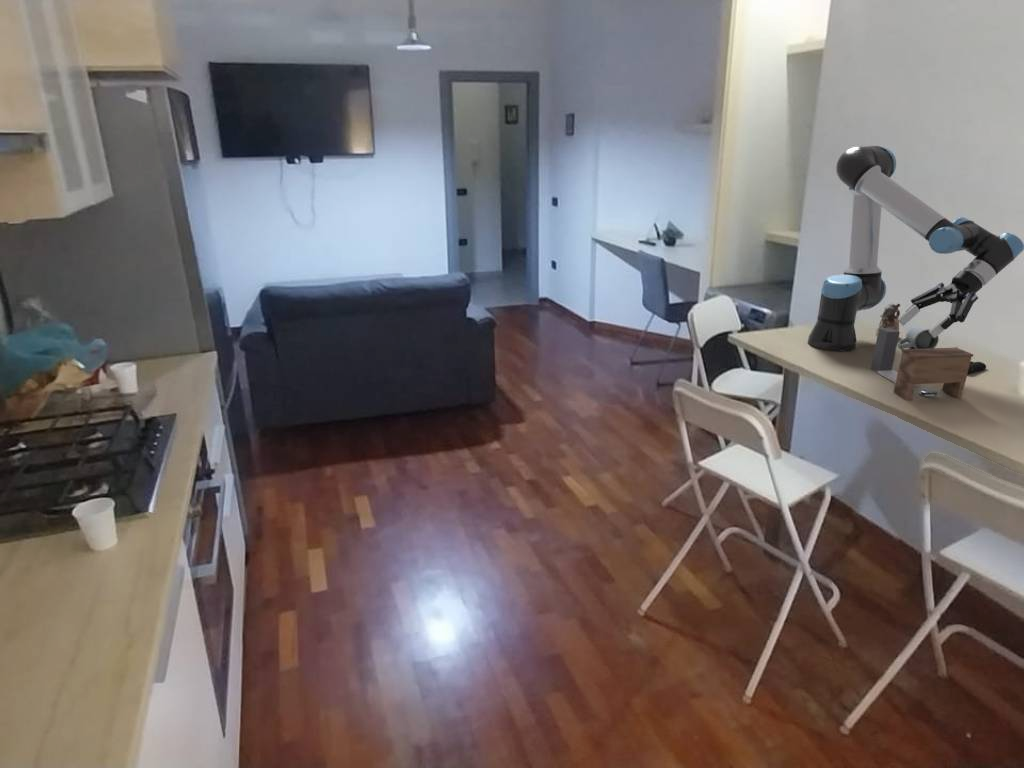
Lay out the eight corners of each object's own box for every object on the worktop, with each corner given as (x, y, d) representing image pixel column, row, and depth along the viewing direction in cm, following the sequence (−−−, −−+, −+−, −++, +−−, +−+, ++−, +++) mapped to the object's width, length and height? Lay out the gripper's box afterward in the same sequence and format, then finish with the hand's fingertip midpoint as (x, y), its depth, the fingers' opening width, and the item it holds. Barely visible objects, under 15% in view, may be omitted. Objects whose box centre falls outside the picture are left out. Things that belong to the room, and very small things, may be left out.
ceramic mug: (924, 345, 233) (929, 323, 231) (936, 352, 226) (941, 330, 223) (892, 344, 234) (896, 323, 232) (903, 351, 227) (907, 329, 224)
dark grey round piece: (914, 393, 191) (915, 389, 190) (929, 392, 191) (930, 388, 191) (924, 398, 187) (925, 394, 186) (939, 398, 187) (940, 394, 187)
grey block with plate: (869, 368, 209) (877, 328, 205) (884, 368, 210) (892, 328, 205) (903, 387, 194) (913, 343, 190) (919, 386, 195) (929, 343, 191)
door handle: (930, 344, 227) (903, 349, 219) (995, 361, 211) (969, 366, 203) (927, 354, 228) (901, 359, 220) (992, 371, 212) (966, 377, 204)
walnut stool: (892, 391, 191) (901, 349, 186) (945, 389, 193) (956, 347, 188) (907, 400, 185) (917, 356, 180) (962, 397, 187) (973, 354, 182)
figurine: (871, 333, 247) (878, 301, 243) (891, 333, 247) (897, 301, 242) (881, 338, 240) (888, 306, 236) (901, 339, 240) (908, 306, 236)
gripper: (936, 261, 211) (882, 310, 214) (1000, 277, 188) (939, 331, 191) (947, 278, 214) (894, 325, 217) (1012, 296, 190) (952, 348, 194)
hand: (915, 328), depth 204 cm, fingers open, 13 cm apart
